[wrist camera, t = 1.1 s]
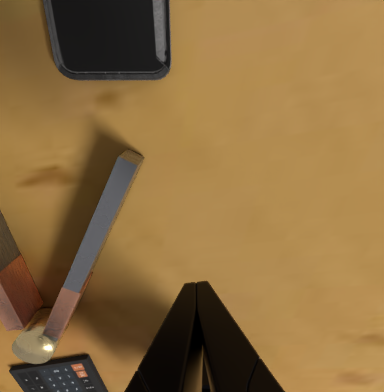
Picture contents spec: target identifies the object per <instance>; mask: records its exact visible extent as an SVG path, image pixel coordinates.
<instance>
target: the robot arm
mask: <svg viewBox="0 0 384 392" xmlns="http://www.w3.org/2000/svg"><path fill="white" fill-rule="evenodd" d="M124 392H285V391H284V390H283V388H282V387H281V386H280V384H279V383H278V382H277V380H276V379H275V378H274V376H273V375H272V373H271V372H270V371H269V369H268V368H267V366H266V365H265V363H264V362H263V361H262V359H260V357H259V355H258V353H257V352H256V351H255V349H254V348H253V346H252V345H251V343H250V342H249V340H248V339H247V338H246V336H245V335H244V333H243V332H242V330H241V329H240V327H239V326H238V324H237V323H236V322H235V320H234V319H233V317H232V316H231V314H230V313H229V311H228V310H227V308H226V307H225V306H224V304H223V303H222V301H221V300H220V298H219V297H218V295H217V294H216V292H215V291H214V290H213V288H212V287H211V285H210V284H209V282H208V281H200V282H197V283H195V282H191V283H185V284H184V285H183V287H182V289H181V291H180V293H179V294H178V296H177V298H176V300H175V302H174V304H173V305H172V307H171V309H170V311H169V313H168V314H167V316H166V318H165V320H164V322H163V323H162V325H161V327H160V329H159V331H158V332H157V334H156V336H155V338H154V340H153V341H152V343H151V345H150V347H149V349H148V350H147V352H146V354H145V356H144V358H143V360H142V361H141V363H140V365H139V367H138V371H136V372H135V374H134V376H133V377H132V379H131V381H130V383H129V385H128V386H127V388H126V390H125V391H124Z"/></svg>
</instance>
